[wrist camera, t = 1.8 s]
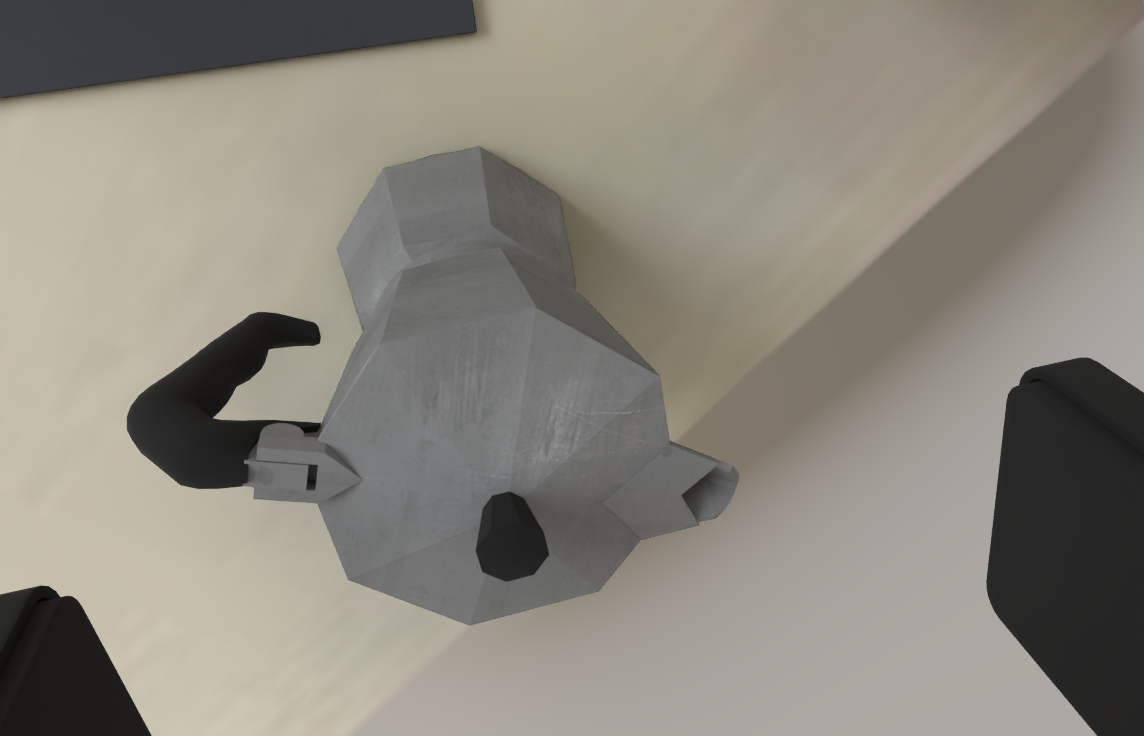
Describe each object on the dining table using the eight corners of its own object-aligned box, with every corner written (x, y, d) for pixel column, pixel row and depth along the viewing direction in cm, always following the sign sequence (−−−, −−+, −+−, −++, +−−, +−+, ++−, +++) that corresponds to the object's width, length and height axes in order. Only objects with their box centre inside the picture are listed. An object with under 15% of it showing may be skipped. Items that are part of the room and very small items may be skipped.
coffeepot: (648, 171, 35) (855, 402, 20) (595, 384, 39) (731, 716, 24) (226, 99, 31) (63, 316, 16) (215, 344, 35) (77, 709, 20)
